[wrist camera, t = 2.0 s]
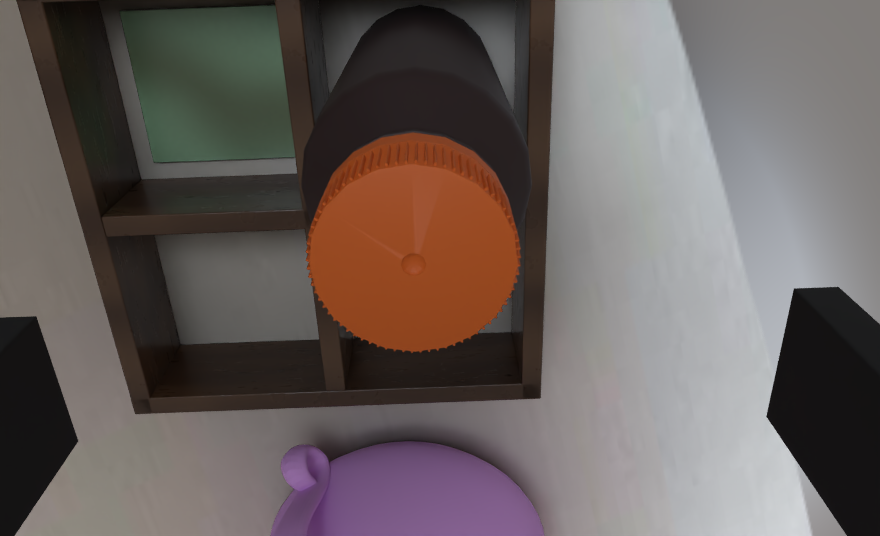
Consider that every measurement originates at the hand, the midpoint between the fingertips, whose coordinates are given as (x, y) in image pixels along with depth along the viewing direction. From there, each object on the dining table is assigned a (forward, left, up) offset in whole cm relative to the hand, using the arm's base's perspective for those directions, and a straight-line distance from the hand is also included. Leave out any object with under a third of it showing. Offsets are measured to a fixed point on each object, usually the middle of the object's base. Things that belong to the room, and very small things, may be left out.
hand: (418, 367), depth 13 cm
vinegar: (0, 0, -24) cm, 24 cm away
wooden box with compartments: (+5, -5, -24) cm, 25 cm away
